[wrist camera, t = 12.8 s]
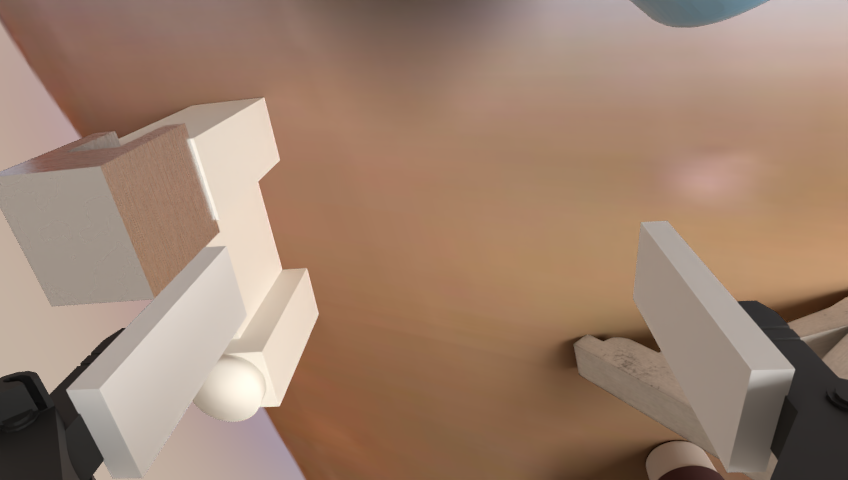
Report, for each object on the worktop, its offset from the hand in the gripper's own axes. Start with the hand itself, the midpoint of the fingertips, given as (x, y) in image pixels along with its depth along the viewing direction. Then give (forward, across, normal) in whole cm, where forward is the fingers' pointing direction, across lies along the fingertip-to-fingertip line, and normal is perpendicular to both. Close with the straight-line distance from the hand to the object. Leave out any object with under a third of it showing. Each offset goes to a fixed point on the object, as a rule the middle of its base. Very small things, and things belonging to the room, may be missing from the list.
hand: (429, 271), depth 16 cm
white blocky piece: (+32, +20, +12) cm, 40 cm away
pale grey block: (+18, +20, +2) cm, 28 cm away
